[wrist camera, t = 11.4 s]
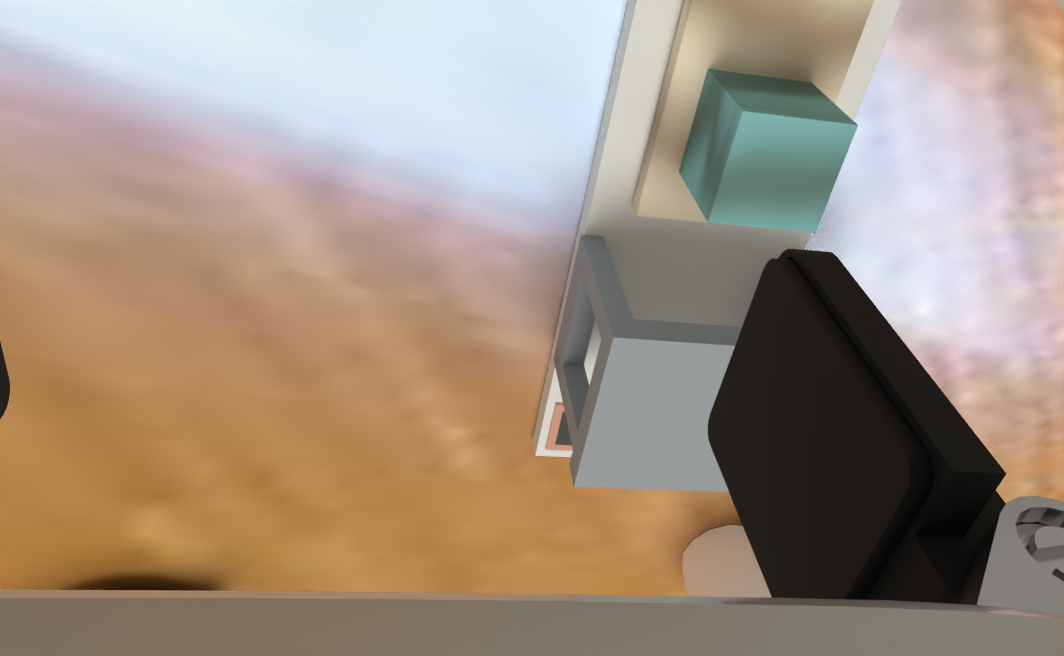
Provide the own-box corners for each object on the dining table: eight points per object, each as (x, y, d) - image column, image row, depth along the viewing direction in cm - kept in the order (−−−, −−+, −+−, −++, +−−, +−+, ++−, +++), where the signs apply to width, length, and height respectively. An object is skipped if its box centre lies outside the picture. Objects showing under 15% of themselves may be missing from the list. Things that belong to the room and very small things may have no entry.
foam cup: (634, 568, 62) (679, 741, 51) (724, 492, 58) (791, 662, 48) (723, 608, 66) (781, 777, 55) (812, 539, 62) (893, 706, 52)
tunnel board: (688, -327, 32) (794, -344, 23) (992, -260, 34) (1196, -252, 25) (526, 438, 53) (548, 582, 44) (718, 447, 55) (775, 585, 47)
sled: (764, -315, 30) (857, -324, 24) (962, -271, 32) (1099, -269, 26) (632, 206, 42) (671, 293, 36) (780, 220, 44) (843, 307, 37)
